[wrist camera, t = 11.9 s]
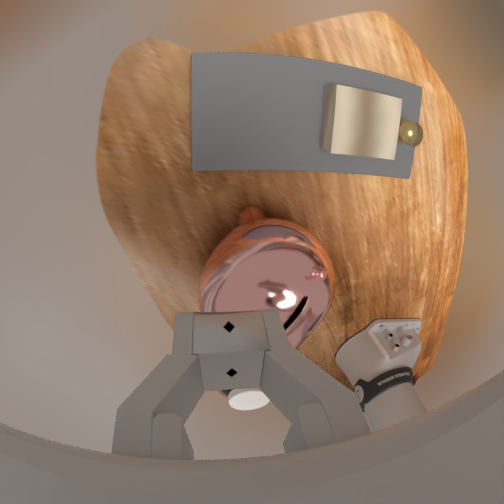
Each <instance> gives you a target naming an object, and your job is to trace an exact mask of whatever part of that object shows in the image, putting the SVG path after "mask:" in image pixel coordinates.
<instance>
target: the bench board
mask: <svg viewBox="0 0 504 504" xmlns="http://www.w3.org/2000/svg"><path fill="white" fill-rule="evenodd" d="M326 85H342V86H348V87H353V88H358V89H363V90H368V91H372V92H376V93H381V94H385V95H389V96H392V97H396V98H400V99H402V107H401V117H400V118H402V119H406V120H409V121H413V122H416V123H418V124H419V116H420V107H421V97H422V87H420V86H417V85H414V84H411V83H408V82H405V81H402V80H399V79H396V78H393V77H389V76H386V75H382V74H379V73H375V72H371V71H367V70H363V69H359V68H355V67H350V66H346V65H341V64H336V63H331V62H325V61H319V60H313V59H306V58H299V57H291V56H282V55H271V54H256V53H192V70H191V148H192V172H195V171H224V170H288V171H317V172H336V173H351V174H364V175H375V176H386V177H395V178H404V179H409V177H410V172H411V167H412V162H413V156H414V150H415V147H412V146H409V145H407V144H404V143H401V142H399V141H397V147H396V153H395V159H394V160H390V159H382V158H374V157H365V156H356V155H345V154H333V153H329V152H328V151H326V150H324V149H322V148H321V145H322V134H323V123H324V110H325V96H326Z"/></svg>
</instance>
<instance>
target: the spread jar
mask: <svg viewBox="0 0 504 504" xmlns="http://www.w3.org/2000/svg"><path fill="white" fill-rule="evenodd" d="M221 391H222V392H223V393H224V394H225V395H227V396H228V400H229V405H230V406H231V407H233V408H235V409H238V410H252V409H257V408H260V407H262V406H264V405H266V404H267V403H268V402H269V401H270V400H269V399H268V397H267V396H266V395H265V394H264V393H263V392H262V391H261V390H260V388H250V389H229V390H221Z"/></svg>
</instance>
